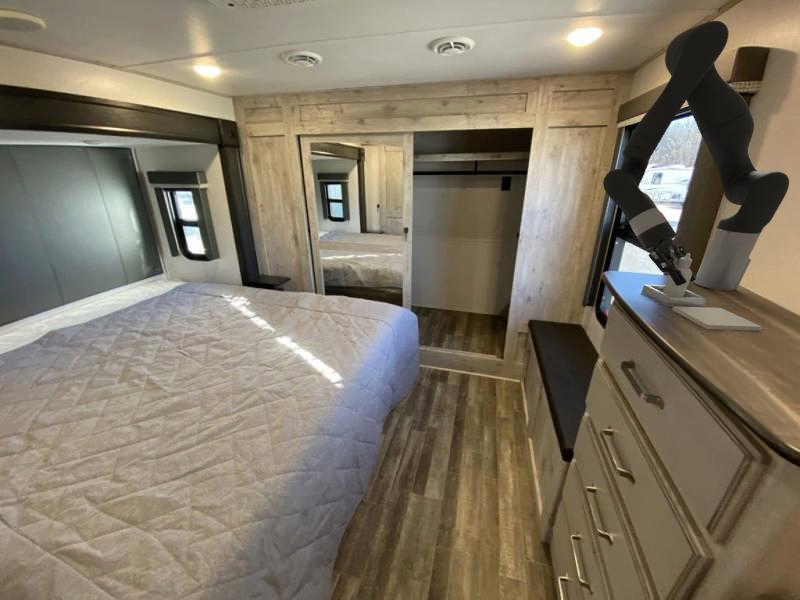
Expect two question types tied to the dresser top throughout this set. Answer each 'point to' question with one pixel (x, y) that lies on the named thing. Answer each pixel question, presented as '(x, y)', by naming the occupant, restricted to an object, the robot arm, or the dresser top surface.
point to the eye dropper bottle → (683, 266)
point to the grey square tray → (685, 301)
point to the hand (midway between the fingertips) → (686, 282)
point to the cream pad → (716, 318)
